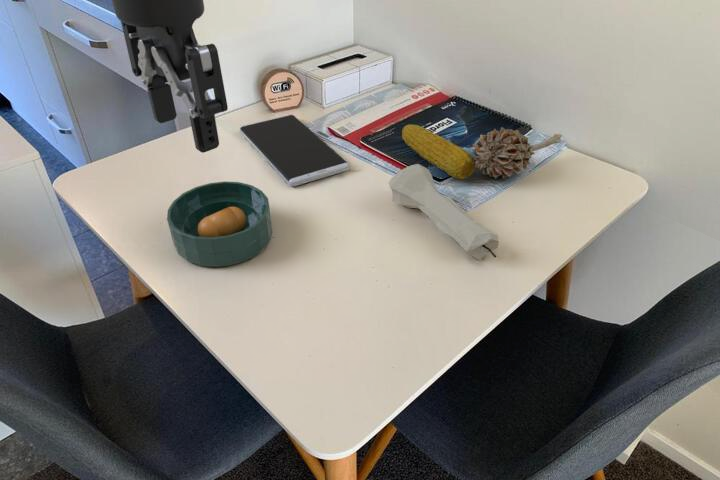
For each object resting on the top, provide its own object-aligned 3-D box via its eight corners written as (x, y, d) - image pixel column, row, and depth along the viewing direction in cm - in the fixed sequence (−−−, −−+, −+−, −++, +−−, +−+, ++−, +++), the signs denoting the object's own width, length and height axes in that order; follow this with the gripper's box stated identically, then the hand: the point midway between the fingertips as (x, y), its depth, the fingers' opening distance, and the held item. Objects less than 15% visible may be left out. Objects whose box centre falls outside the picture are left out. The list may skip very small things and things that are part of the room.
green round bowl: (173, 275, 80) (164, 245, 77) (176, 215, 93) (169, 187, 89) (277, 261, 83) (273, 231, 80) (267, 204, 96) (264, 176, 92)
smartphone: (292, 119, 123) (292, 112, 122) (351, 171, 105) (351, 163, 104) (239, 132, 117) (238, 125, 116) (291, 189, 100) (290, 181, 98)
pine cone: (489, 196, 99) (498, 149, 92) (456, 173, 105) (462, 128, 99) (569, 166, 108) (582, 121, 102) (534, 146, 114) (545, 103, 108)
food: (477, 179, 103) (481, 152, 99) (455, 187, 101) (459, 160, 97) (411, 137, 117) (413, 112, 113) (391, 143, 114) (392, 118, 111)
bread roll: (209, 252, 84) (204, 230, 81) (195, 239, 87) (190, 217, 84) (252, 230, 89) (249, 209, 86) (238, 218, 91) (235, 198, 88)
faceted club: (419, 182, 100) (515, 257, 85) (383, 205, 98) (476, 286, 83) (414, 147, 94) (518, 221, 79) (376, 171, 92) (475, 252, 76)
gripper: (71, -50, 46) (121, 122, 56) (146, -22, 38) (188, 173, 48) (152, -59, 50) (185, 102, 60) (235, -35, 42) (257, 147, 52)
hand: (186, 134), depth 54 cm, fingers open, 8 cm apart
